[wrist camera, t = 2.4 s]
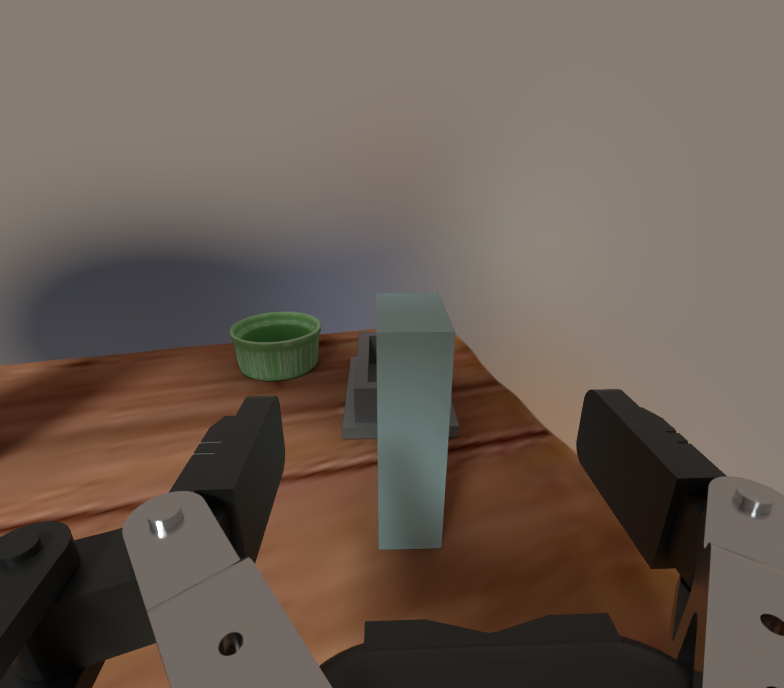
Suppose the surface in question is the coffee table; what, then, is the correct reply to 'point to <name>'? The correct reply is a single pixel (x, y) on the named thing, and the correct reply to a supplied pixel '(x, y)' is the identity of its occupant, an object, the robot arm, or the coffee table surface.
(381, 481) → the tall teal prism
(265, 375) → the ramekin
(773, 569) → the robot arm
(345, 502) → the coffee table surface
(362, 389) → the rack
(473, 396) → the coffee table surface
